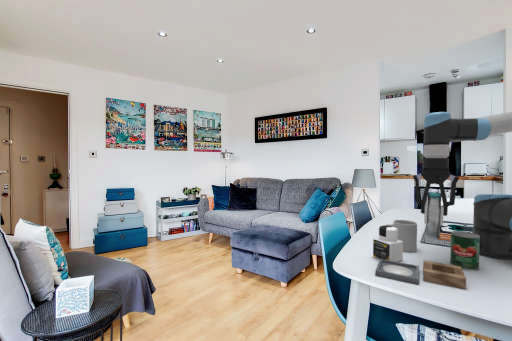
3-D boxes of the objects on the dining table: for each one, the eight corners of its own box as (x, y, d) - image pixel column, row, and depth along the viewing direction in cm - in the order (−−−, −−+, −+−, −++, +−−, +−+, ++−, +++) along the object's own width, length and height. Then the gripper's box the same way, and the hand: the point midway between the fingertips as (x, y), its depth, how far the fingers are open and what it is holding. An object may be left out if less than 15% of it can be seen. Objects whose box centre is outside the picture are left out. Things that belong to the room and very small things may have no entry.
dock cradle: (418, 270, 86) (418, 265, 86) (418, 284, 76) (418, 279, 76) (380, 263, 92) (380, 258, 92) (375, 275, 83) (375, 270, 83)
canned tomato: (472, 262, 93) (473, 231, 93) (484, 271, 86) (485, 238, 85) (446, 260, 95) (446, 230, 95) (455, 268, 88) (456, 236, 88)
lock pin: (440, 234, 94) (441, 192, 93) (441, 237, 90) (442, 194, 90) (425, 232, 96) (426, 191, 96) (425, 235, 93) (426, 193, 92)
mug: (417, 247, 109) (417, 221, 109) (416, 253, 102) (416, 225, 101) (385, 242, 116) (385, 218, 115) (382, 248, 108) (382, 221, 108)
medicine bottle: (372, 256, 99) (373, 225, 98) (386, 254, 101) (387, 223, 101) (388, 263, 92) (389, 229, 92) (403, 260, 95) (403, 227, 94)
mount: (460, 276, 82) (461, 266, 82) (465, 289, 74) (466, 278, 74) (423, 269, 88) (423, 260, 87) (423, 280, 79) (423, 270, 79)
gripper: (464, 157, 91) (462, 224, 92) (408, 157, 100) (406, 218, 101) (468, 157, 85) (465, 229, 85) (407, 157, 93) (405, 222, 94)
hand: (433, 223), depth 93 cm, fingers closed on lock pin, 4 cm apart
